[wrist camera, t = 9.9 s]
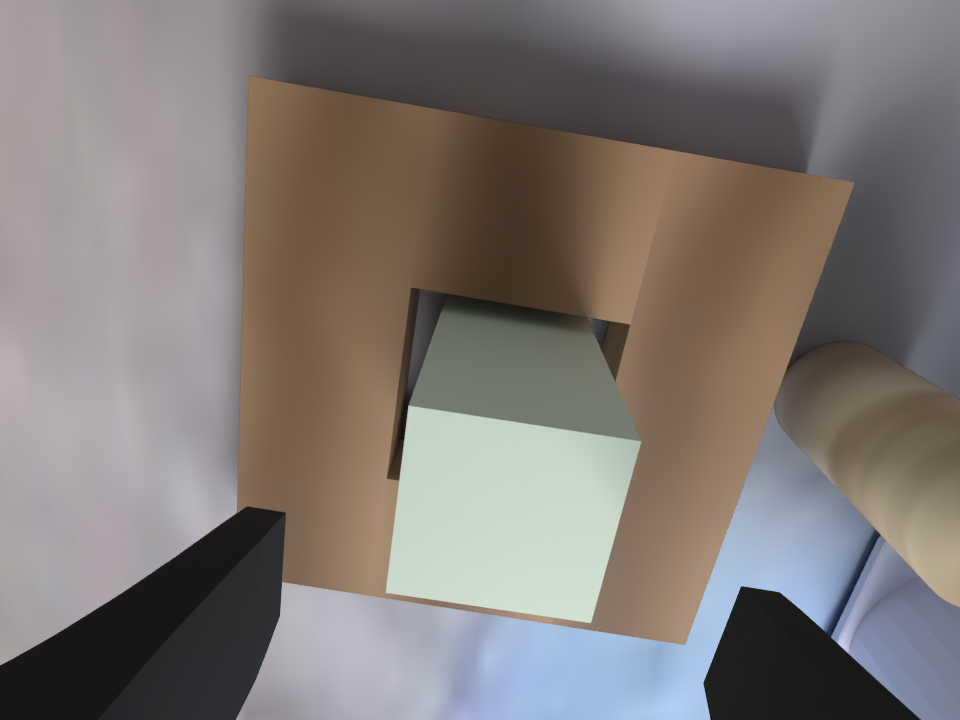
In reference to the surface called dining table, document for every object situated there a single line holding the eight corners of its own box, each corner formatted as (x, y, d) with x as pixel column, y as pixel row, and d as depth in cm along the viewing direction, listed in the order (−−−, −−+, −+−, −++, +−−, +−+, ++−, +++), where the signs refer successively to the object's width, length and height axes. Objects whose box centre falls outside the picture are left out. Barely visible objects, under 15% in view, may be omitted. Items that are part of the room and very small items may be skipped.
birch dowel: (913, 351, 18) (1148, 478, 11) (867, 455, 19) (1056, 623, 13) (797, 332, 18) (966, 449, 11) (758, 437, 19) (891, 597, 13)
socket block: (806, 175, 16) (855, 182, 14) (665, 590, 21) (685, 644, 19) (284, 83, 16) (248, 76, 14) (263, 527, 21) (235, 574, 19)
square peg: (584, 311, 18) (641, 441, 10) (557, 432, 19) (591, 623, 12) (448, 289, 18) (408, 405, 10) (431, 412, 19) (385, 593, 12)
